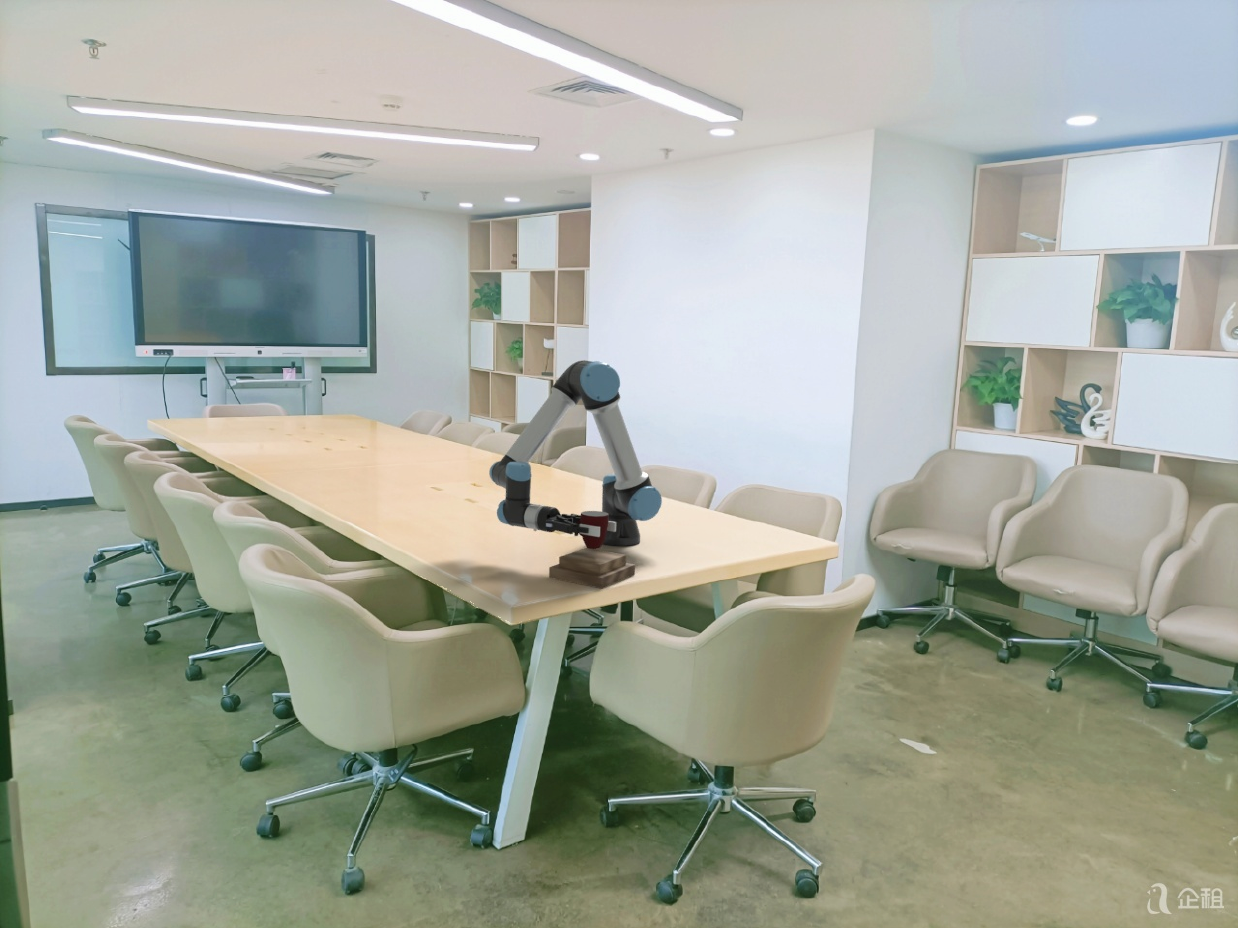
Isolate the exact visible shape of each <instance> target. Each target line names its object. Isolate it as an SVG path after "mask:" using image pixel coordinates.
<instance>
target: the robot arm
mask: <svg viewBox="0 0 1238 928" xmlns="http://www.w3.org/2000/svg"><path fill="white" fill-rule="evenodd" d="M620 386H621V381H620V376H619V374H618V372H617V370H616V369H615V368H614V367H613V366H612V365H610V364H609V363H606V362H603V361H597V360H596V361H590V360H585V359H584V360H578V361H575V362H574V363H572V364H571V365H569V366H568V367H567V368H566V369H565V370H564V371H563V372H562V374H561V375H560V377H558V378H557V380H556V382H555V383H554V384H553V385H552V387H551V388H550V389H551V390H550V391H551V393H550V395H549V396H548V397H547V399H546V400H545V401H544V403H543V404H542V405H541V407H540V408H539V409H538V411H537V412H536V414H535V415H534V416H533V417H532V419H531V420H530V422H528V424H527V425H526V426H525V428H524V429H523V431H522V432H521V433H520V435H519V436H518V437H517V439H516V440H515V441H514V442H513V444H512V445H511V446H510V448H509V449H508V450H507V452H506V453H505V454H504V455H503V457H502V458H501V460H499V461H496V462H494V463H493V464H492V465H491V466H490V468H489V478H490V480H491V481H492V483H494V484H495V485H496V486H499V487H502V488H503V489H505V498H504V499H503V500H501V501H500V502H499V504H498V507H497V510H496V516H497V519H498V520H499V522H500V523H502V524H506V525H509V526H512V527H520V528H526V529H531V530H533V532H537V531H541V532H545V533H554V532H555V531H556V532H560V533H563V534H568V535H573V534H574V537H578V536H579V535H580V534H585V535H590V536H596V537H600V527H597V526H591V525H585V524H580V526H579V525H578V522H579V521H580V520H581V514H575V513H571V514H567V513H560V510H559V509H558V508H557V507H554V506H548V505H543V504H537V503H532V502H531V489H532V488H531V485H532V466H531V464H530V463H529V462H530V461H531V460H532V459H533V458H534V456H535V455H536V453H538V451H539V450H540V448H541V447H542V446H543V444H544V443H545V442H546V441H547V439H548V438H549V436H550V435H551V434H552V432H553V431H554V430H555V428H556V427H557V426H558V424H559V423H560V422H561V421H562V419H563V418H564V416H565V415H566V414H567V413H568V411H569V410H570V408H573V407H576V406H577V404H578V403H579V402H580V401H581V400H582V403H583V406H584V410H585V411H587V412H589V413H591V414H592V416H593V419H594V422H595V424H596V428H597V431H598V434H599V436H600V438H601V441H602V443H603V447H604V449H605V452H606V455H607V458H608V460H609V463H610V466H611V468H612V471H613V474H606V475H605V476H603V478H602V479H603V480H602V485H601V488H602V494H601V495H602V497H601V498H602V499H601V501H602V503H601V504H602V505H601V506H602V507H601V512H606V513H608V514H609V522H608V527H607V532H606V537H605V540H604V542H603V544H602V545H608V546H617V547H618V546H634V545H637V544H640V542H641V533H640V529H639V526H638V523H637V521H639V522H645V521H646V522H647V521H649V520H651V519H653V518H654V517H656V515H657V514H658V513H659V511H660V509H661V508H662V503H663V500H662V498H663V497H662V496H661V493H660V491H659V490H658V489H657V487H655V486H653V485H652V482H651V479H650V477H649V474H648V473H647V472H646V471H643V470H642V468H641V466H640V462H639V460H638V457H637V454H636V452H635V449H634V445H633V443H632V440H631V438H630V435H629V432H628V428H627V427H626V424H625V421H624V418H623V415H622V412H621V410H620V407H619V402H620V400H621V394H620V392H619V388H620ZM578 532H579V533H578Z"/></svg>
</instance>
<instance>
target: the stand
mask: <svg viewBox="0 0 1238 928" xmlns="http://www.w3.org/2000/svg"><path fill="white" fill-rule="evenodd" d="M635 571H636V564H633V563H628V562H627V555H626V554H623V553H618V552H617V553H616V552H612V551H607V550H601V549H589V548H587V547H584V548H581V549H578V550H575V551H572V552H569V553H566V554H564V555H560V556H559V557H558V563H557V564H554V565H552V566H549V568H548V577H549V578H550V579H554V578H555V580H559V579H560V580H559V581H564V582H570V583H573V582H574V583H575V584H578V585H583V586H586V587H587V586H589V587H593V588H596V589H597V588H598V589H603V588H606V587H609V586H611V585H614V584H616V583H618V582H621V581H622V580H625V579H628V578H630V577H632V576H634V575H635V574H636V572H635Z"/></svg>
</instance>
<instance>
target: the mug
mask: <svg viewBox="0 0 1238 928" xmlns="http://www.w3.org/2000/svg"><path fill="white" fill-rule="evenodd" d="M580 515H581V520H580V521H579V522H578V525H579V526H580V524H585V525H591V526H597V527H600V537H596V536H590V535H585V534H579V532H578V534H579V536H581V537H582V541H583V543H584V545H585V548H589V549H597V550H600V548H601V547H602V545H604V544H603V542H604V540H605V537H606V532H607V527H608V522H609V514H608V513H606V512H602V510H601V511H600V510H598V511H597V510H586V511H582V512H580Z"/></svg>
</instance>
